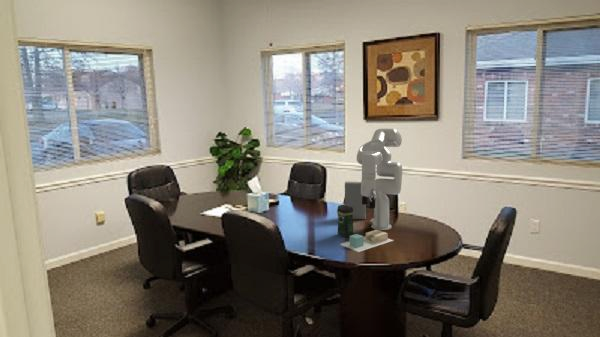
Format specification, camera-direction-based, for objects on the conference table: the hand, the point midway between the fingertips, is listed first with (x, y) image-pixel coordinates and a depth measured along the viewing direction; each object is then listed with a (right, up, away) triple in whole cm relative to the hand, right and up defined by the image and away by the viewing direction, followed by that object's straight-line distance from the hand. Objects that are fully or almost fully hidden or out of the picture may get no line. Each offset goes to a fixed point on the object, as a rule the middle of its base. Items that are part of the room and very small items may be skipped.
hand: (368, 206), depth 251 cm
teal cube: (-6, -23, +5) cm, 24 cm away
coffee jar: (-10, -20, +24) cm, 33 cm away
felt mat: (0, -22, +10) cm, 24 cm away
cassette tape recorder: (0, -13, +59) cm, 60 cm away
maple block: (+7, -21, +14) cm, 26 cm away
